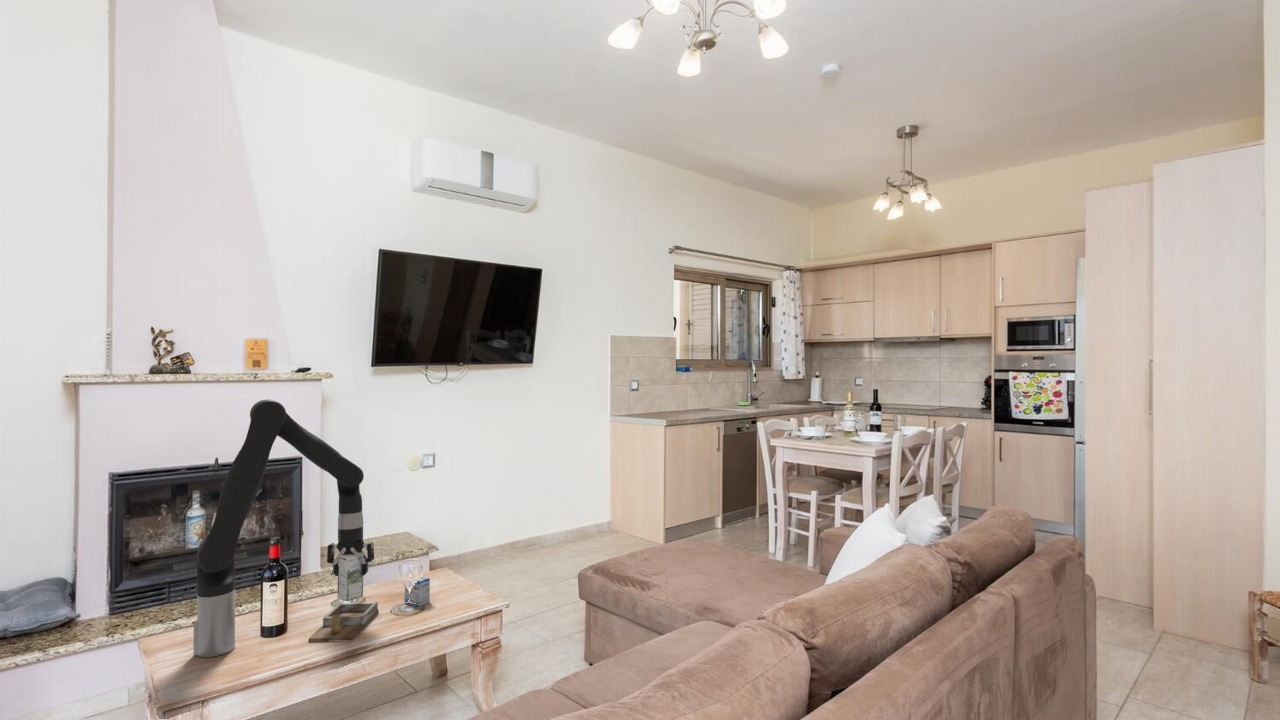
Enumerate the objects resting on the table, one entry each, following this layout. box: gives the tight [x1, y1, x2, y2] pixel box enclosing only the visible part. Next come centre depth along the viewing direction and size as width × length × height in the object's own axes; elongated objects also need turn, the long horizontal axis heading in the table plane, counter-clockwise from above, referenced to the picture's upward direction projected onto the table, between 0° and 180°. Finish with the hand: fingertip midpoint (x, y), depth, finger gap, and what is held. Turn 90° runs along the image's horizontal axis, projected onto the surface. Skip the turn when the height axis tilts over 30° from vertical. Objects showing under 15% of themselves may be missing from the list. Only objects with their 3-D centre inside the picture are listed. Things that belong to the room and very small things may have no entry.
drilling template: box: [308, 601, 380, 643], centre depth 201 cm, size 13×22×6 cm, turn 3°
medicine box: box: [404, 576, 431, 606], centre depth 221 cm, size 8×4×9 cm, turn 62°
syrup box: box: [337, 552, 364, 602], centre depth 205 cm, size 6×6×14 cm
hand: (350, 575), depth 205 cm, fingers closed on syrup box, 8 cm apart
